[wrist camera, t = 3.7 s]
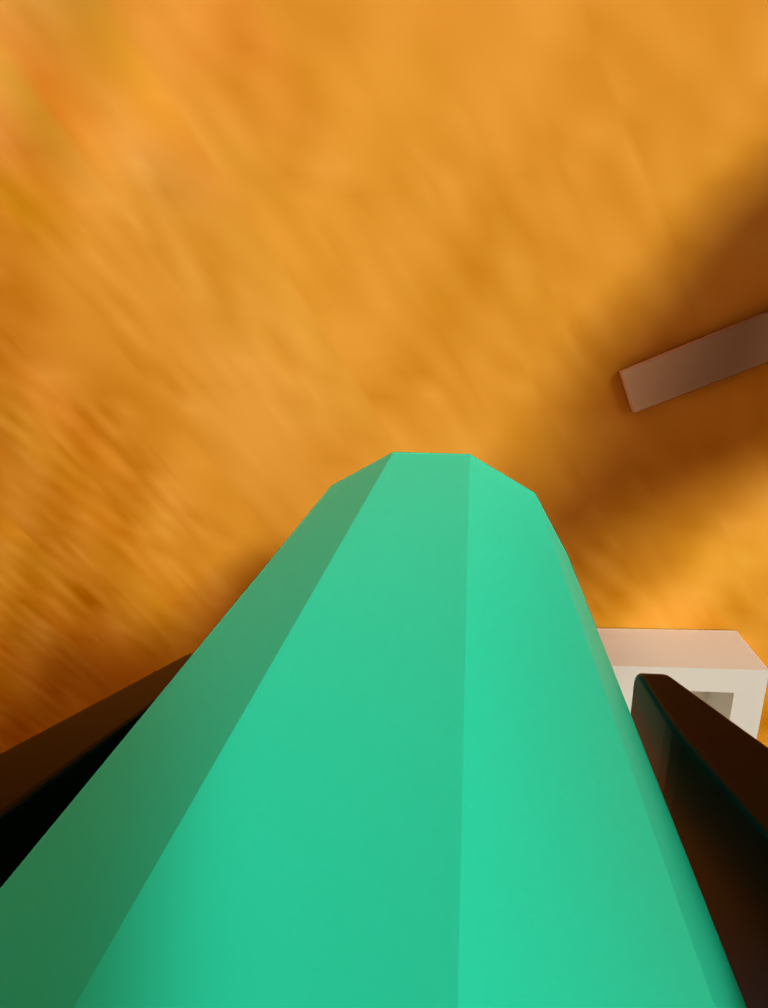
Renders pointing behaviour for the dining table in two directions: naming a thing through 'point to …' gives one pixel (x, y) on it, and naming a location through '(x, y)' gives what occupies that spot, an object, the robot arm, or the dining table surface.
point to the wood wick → (697, 363)
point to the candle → (378, 790)
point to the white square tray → (694, 667)
